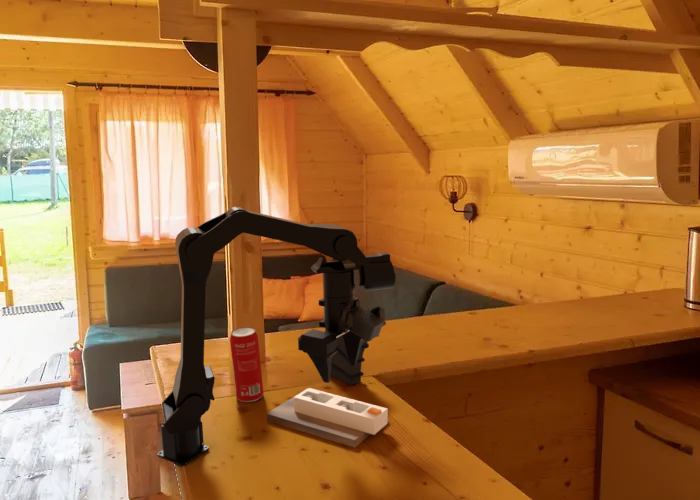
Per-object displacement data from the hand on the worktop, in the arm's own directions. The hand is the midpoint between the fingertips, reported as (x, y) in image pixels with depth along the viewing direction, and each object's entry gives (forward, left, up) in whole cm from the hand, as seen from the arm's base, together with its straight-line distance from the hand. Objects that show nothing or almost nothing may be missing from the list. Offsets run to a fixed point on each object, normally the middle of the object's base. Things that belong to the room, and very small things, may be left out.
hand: (340, 373), depth 116 cm
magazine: (+19, +11, -11) cm, 24 cm away
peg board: (0, +3, -10) cm, 11 cm away
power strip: (0, 0, -9) cm, 9 cm away
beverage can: (0, +23, -11) cm, 25 cm away
